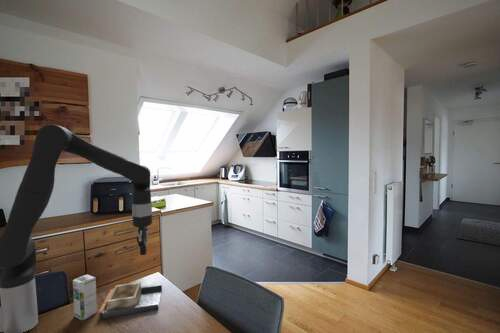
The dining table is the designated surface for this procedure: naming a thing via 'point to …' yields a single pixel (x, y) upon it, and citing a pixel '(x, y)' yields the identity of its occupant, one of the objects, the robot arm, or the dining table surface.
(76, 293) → the syrup box
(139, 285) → the box
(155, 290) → the bay
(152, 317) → the dining table surface
